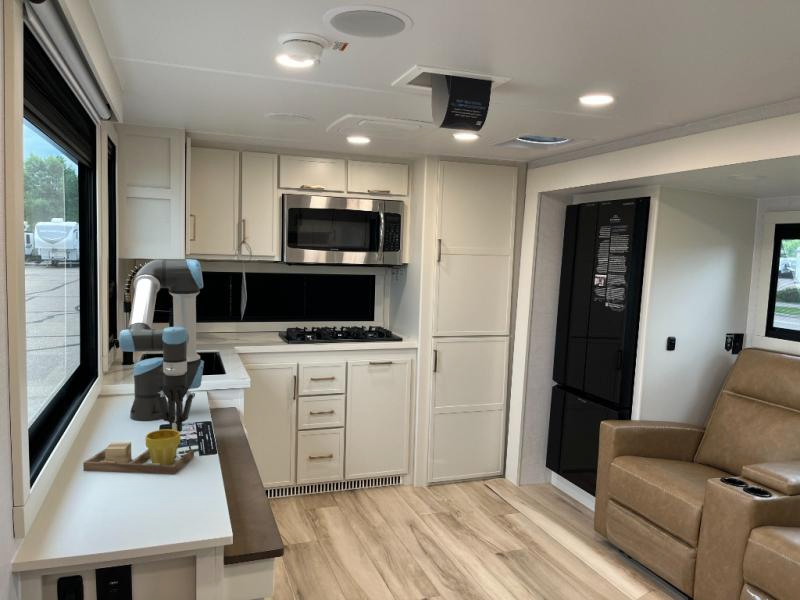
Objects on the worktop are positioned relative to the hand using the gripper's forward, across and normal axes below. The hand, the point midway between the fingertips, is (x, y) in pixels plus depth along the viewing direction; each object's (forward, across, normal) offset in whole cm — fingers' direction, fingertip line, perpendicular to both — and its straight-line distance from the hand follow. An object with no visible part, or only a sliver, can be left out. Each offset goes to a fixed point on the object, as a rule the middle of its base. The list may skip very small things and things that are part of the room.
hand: (176, 440), depth 200 cm
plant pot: (+4, 0, -10) cm, 11 cm away
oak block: (+4, -14, -12) cm, 19 cm away
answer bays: (+4, -7, -12) cm, 14 cm away
